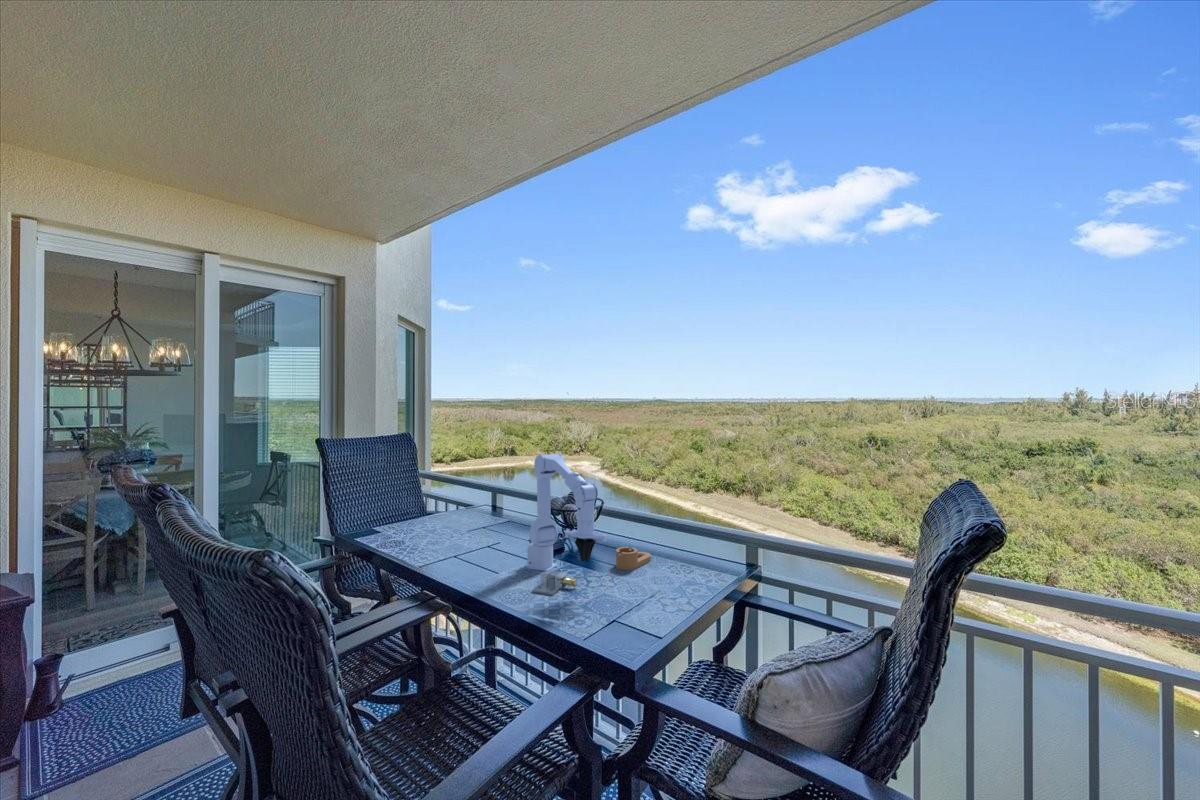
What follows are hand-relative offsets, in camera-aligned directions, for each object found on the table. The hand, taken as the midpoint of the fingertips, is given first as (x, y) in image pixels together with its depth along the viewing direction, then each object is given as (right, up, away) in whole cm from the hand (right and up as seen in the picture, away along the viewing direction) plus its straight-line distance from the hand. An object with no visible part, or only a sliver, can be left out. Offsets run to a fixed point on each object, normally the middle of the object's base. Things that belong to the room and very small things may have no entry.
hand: (585, 560), depth 161 cm
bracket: (+18, -11, +26) cm, 34 cm away
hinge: (-11, -10, +4) cm, 16 cm away
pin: (-8, -10, +3) cm, 13 cm away
